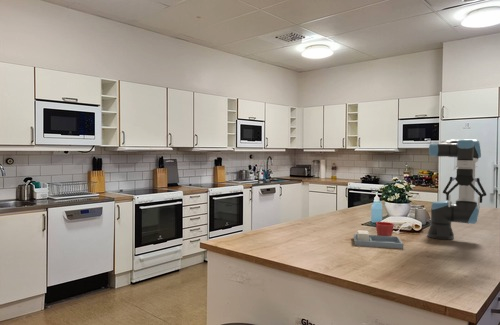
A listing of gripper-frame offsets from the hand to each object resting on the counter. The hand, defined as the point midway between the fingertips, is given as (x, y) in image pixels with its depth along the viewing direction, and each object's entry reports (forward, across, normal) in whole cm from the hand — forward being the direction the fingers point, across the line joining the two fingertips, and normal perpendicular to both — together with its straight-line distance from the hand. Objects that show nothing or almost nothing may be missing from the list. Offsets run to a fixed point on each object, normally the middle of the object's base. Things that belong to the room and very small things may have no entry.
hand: (463, 207), depth 197 cm
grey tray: (+25, -43, -7) cm, 50 cm away
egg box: (+24, -51, -9) cm, 57 cm away
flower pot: (+25, -43, +11) cm, 51 cm away
